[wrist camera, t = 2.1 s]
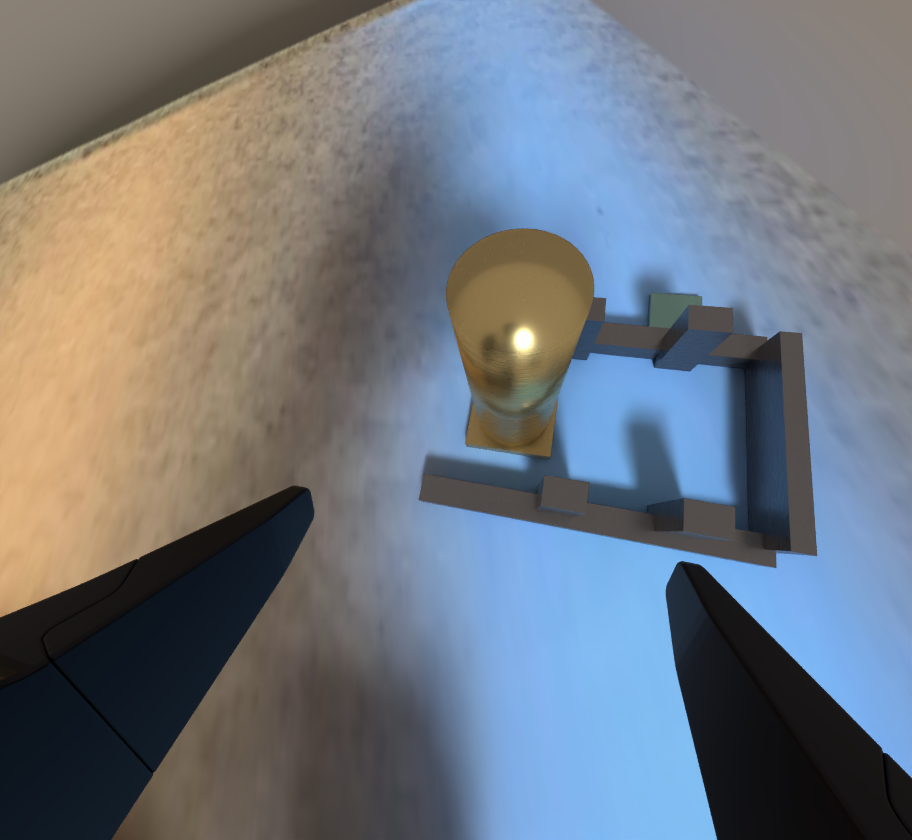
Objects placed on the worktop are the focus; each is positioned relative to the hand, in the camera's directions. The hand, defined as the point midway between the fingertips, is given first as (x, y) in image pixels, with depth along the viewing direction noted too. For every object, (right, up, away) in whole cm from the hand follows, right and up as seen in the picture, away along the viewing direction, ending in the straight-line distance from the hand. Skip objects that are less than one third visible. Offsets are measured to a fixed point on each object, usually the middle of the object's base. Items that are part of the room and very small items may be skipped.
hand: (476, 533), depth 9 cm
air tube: (+3, +3, +14) cm, 15 cm away
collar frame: (+8, +4, +13) cm, 16 cm away
